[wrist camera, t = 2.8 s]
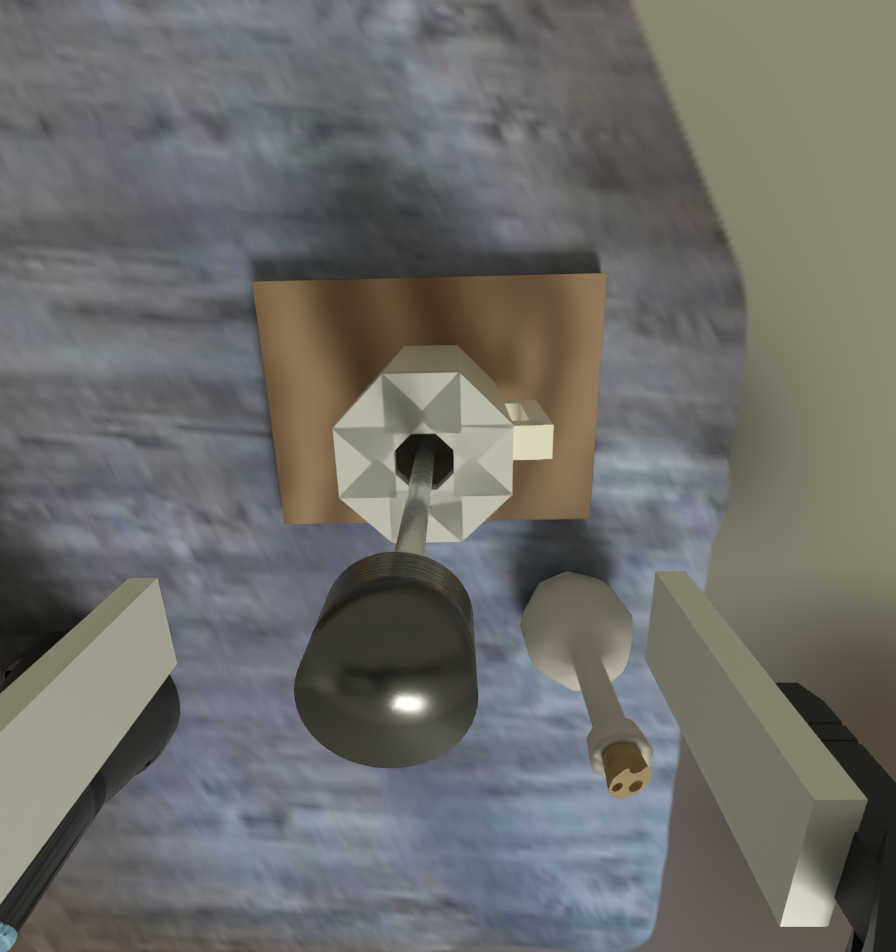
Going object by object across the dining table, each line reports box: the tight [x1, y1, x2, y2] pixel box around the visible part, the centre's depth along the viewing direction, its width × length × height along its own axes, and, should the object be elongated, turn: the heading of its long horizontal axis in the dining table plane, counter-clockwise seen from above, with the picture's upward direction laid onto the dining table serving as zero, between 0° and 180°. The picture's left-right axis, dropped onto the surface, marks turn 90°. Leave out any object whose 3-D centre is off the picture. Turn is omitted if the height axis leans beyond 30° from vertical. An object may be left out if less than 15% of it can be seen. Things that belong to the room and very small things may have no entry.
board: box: [252, 273, 607, 524], centre depth 40 cm, size 24×18×2 cm
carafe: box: [332, 345, 554, 543], centre depth 34 cm, size 12×9×13 cm
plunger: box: [294, 436, 478, 768], centre depth 21 cm, size 4×4×20 cm
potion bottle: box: [520, 571, 653, 799], centre depth 38 cm, size 9×9×18 cm
